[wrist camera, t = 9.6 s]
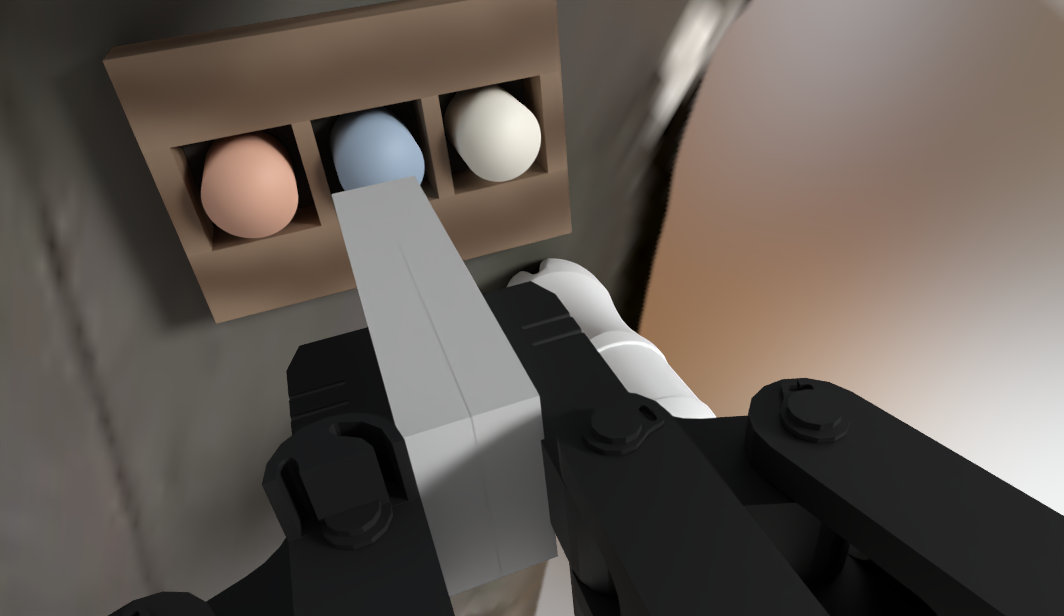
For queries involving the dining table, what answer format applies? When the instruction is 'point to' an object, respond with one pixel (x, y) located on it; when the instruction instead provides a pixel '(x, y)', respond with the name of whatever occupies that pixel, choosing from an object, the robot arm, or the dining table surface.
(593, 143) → the dining table surface
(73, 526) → the dining table surface
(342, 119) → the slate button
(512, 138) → the cream rounded lump
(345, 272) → the brown wooden tray
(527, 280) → the water bottle
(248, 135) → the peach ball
